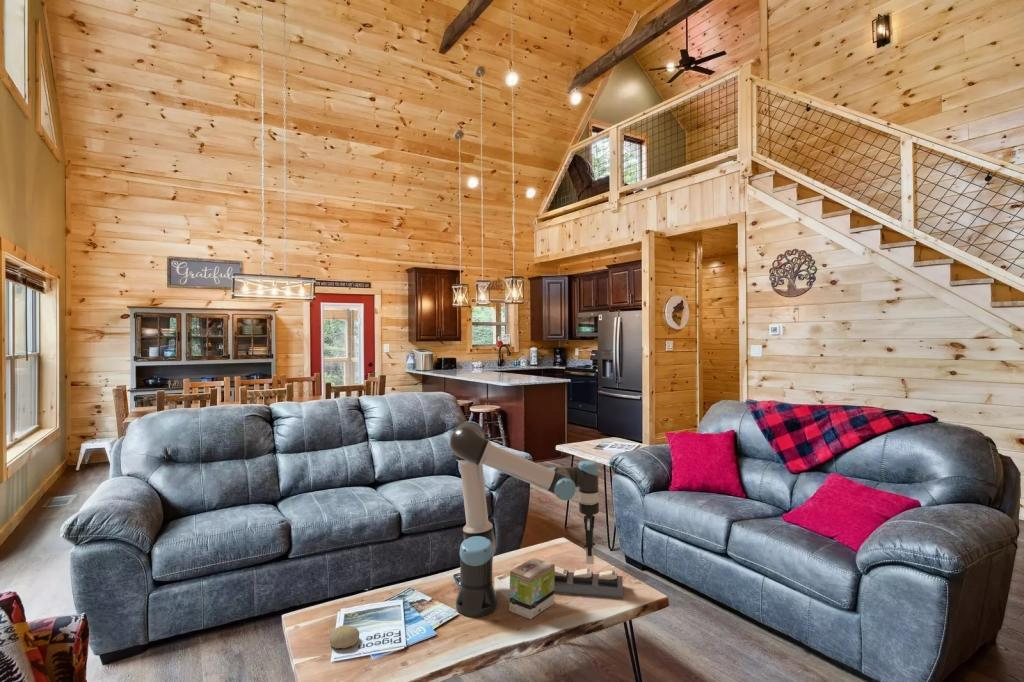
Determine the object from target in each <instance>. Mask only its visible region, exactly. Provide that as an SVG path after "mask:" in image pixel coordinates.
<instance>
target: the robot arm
mask: <svg viewBox="0 0 1024 682" xmlns="http://www.w3.org/2000/svg"><path fill="white" fill-rule="evenodd" d="M485 437H486V433H485V431H484V429H483V427H482V426H481V425H480V424H479V423H477V422H475V421H471V420H470V421H469V420H468V421H464V422H461V423H460V424H458V426H456V427H455V430H454V431H453V432H452V434H451V436H450V439H449V445H450V449H451V450H452V452H453V454H454V455H455V456H454V457H455V461H456V462H458V463H459V466H460V477H461V484H462V485H461V486H462V495H463V496H462V497H463V505H464V513H465V514H464V515H465V523H466V524H465V525H464V526H463V528H462V533H463V534H462V535H463V541H462V542H461V543H460V548H459V561H460V562H459V565H460V566H459V568H460V571H459V572H460V574H459V575H460V578H459V579H460V586H459V590H458V591H457V592H458V593H457V596H456V599H455V610H456V611H457V612H458V614H461V615H463V616H466V617H472V618H473V617H477V618H478V617H484V616H488V615H491V614H493V613H494V612H495V611H496V610H497V609H498V603H499V602H498V597H497V593H496V591H495V587H494V585H493V584H494V583H493V582H494V581H493V562H494V554H495V550H496V546H497V541H496V537H495V534H494V527H493V526H494V525H493V523H491V522H490V521H489V515H488V506H487V495H486V487H485V476H484V468H483V467H484V466H483V465H485V466H487V467H489V468H491V469H494V470H496V471H499V472H501V473H504V474H506V475H509V476H511V477H514V478H515V479H518V480H520V481H523V482H525V483H528V484H530V485H532V486H534V487H538V488H540V489H541V490H545V491H546V492H549V493H551V494H554V495H555V496H556V497H557V498H558V499H559V500H561V501H570V500H571V499H573V498H574V496H575V494H576V488H578V501H579V504H578V511H579V513H580V514H581V515H583V516H584V517H583V523H584V531H585V544H584V546H583V548H585V554H586V555H585V556H586V557H585V560H586V562H585V563H586V564H588V565H594V563H595V561H594V558H595V557H594V555H595V554H594V546H596V542H594V530H595V519H596V518H595V516H594V515H598V514H599V511H600V507H599V506H600V503H599V501H600V500H599V499H600V497H601V493H599V476H600V475H599V468H598V467H599V466H598V465H599V464H598V463H597V462H596V461H593V460H581V461H579V462H578V465H577V466H574V467H573V466H572V467H571V466H570V467H569V466H568V467H567V466H564V467H563V466H562V467H559V466H555V467H554V466H553V467H546V466H544V465H541V464H539V463H537V462H534V461H532V460H529V459H527V458H525V457H522V456H520V455H517V454H515V453H513V452H510V451H508V450H505V449H503V448H501V447H498V446H496V445H494V444H492V443H491V441H490V439H487V438H485Z"/></svg>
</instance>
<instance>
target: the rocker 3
mask: <svg viewBox="0 0 1024 682" xmlns="http://www.w3.org/2000/svg"><path fill="white" fill-rule="evenodd" d="M598 574H599V579H605V580H613V579H617V574H618V572H617V570H616V569H612V570H605V571H599V572H598Z"/></svg>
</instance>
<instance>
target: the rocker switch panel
mask: <svg viewBox="0 0 1024 682" xmlns="http://www.w3.org/2000/svg"><path fill="white" fill-rule="evenodd" d="M566 570H567V575H566V576H555V583H554V585H555V590H554V594H561V595H562V594H563V595H573V596H586V597H595V598H596V597H598V598H610V599H619V598H622V599H623V598H624V592H623V591H624V585H623V576H622V575H618V573H617V579H613V580H605V579H599V573H598V574H596V573H593V571H592V576H591V577H588V578H580V577H574V572H575V570H574V571H573V572H571V571H569V569H566Z"/></svg>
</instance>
